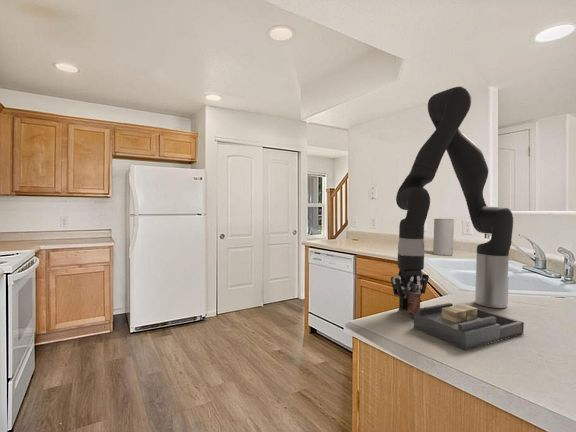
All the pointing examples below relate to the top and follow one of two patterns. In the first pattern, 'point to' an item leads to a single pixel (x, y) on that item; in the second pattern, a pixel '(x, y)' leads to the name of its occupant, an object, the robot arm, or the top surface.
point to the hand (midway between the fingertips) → (409, 308)
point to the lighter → (412, 301)
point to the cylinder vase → (443, 237)
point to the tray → (504, 324)
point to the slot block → (456, 328)
